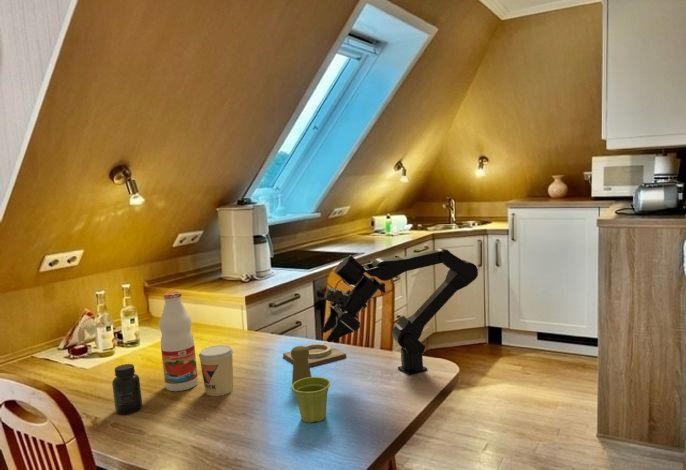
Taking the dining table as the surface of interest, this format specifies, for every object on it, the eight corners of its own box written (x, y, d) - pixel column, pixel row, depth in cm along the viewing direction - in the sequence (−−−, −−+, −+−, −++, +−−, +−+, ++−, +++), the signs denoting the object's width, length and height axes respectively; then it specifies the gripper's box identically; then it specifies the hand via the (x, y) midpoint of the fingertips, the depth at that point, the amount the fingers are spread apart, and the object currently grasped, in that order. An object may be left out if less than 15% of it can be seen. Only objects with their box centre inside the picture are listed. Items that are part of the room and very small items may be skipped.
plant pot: (318, 429, 130) (315, 394, 129) (286, 422, 135) (284, 388, 134) (339, 413, 138) (337, 380, 137) (309, 406, 143) (306, 374, 142)
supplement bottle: (122, 404, 152) (117, 363, 150) (146, 403, 151) (141, 361, 150) (111, 416, 145) (105, 372, 143) (136, 414, 145) (131, 371, 143)
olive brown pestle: (314, 379, 161) (311, 343, 159) (311, 388, 155) (308, 350, 153) (294, 380, 161) (291, 344, 160) (290, 388, 155) (287, 351, 154)
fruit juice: (195, 377, 169) (186, 287, 166) (201, 387, 161) (191, 293, 157) (163, 383, 165) (153, 292, 162) (167, 394, 157) (157, 298, 153)
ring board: (346, 357, 178) (345, 350, 177) (301, 369, 170) (301, 361, 170) (326, 346, 190) (325, 339, 190) (283, 356, 182) (282, 349, 182)
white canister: (196, 392, 157) (192, 351, 156) (223, 381, 164) (219, 342, 162) (215, 400, 151) (210, 358, 149) (242, 388, 157) (239, 348, 156)
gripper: (334, 271, 165) (300, 311, 165) (345, 283, 147) (307, 328, 147) (362, 294, 168) (328, 333, 167) (376, 309, 149) (338, 353, 149)
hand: (325, 336), depth 158 cm, fingers open, 9 cm apart
